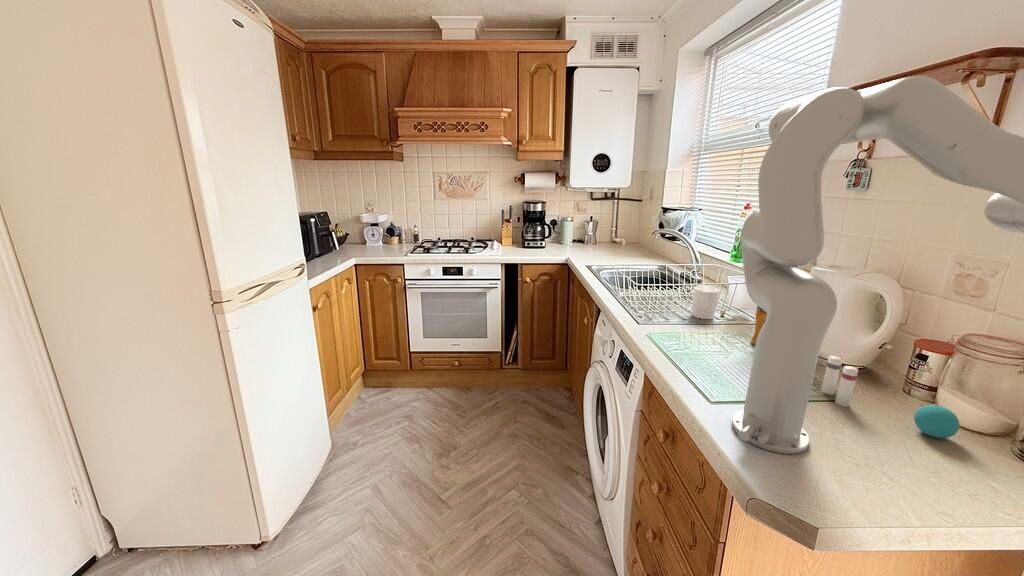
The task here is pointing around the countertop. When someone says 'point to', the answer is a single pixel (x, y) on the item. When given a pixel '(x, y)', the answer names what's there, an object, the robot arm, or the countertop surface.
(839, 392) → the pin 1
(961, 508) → the countertop surface
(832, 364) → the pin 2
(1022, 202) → the robot arm
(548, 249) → the countertop surface
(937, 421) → the teal egg
